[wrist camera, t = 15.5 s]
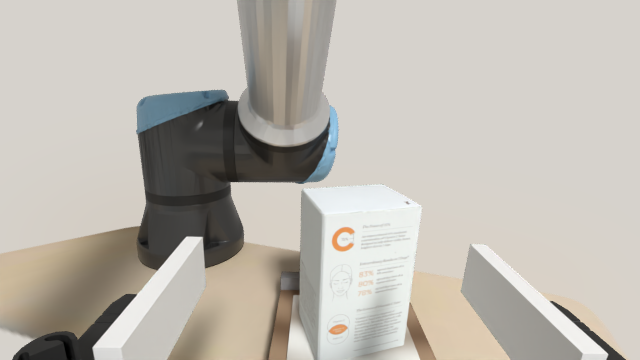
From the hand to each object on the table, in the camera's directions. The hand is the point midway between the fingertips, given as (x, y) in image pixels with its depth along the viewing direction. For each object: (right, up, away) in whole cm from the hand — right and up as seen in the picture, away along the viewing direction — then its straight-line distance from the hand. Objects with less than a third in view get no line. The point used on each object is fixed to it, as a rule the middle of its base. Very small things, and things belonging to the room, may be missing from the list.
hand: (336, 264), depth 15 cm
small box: (+2, -10, +13) cm, 17 cm away
